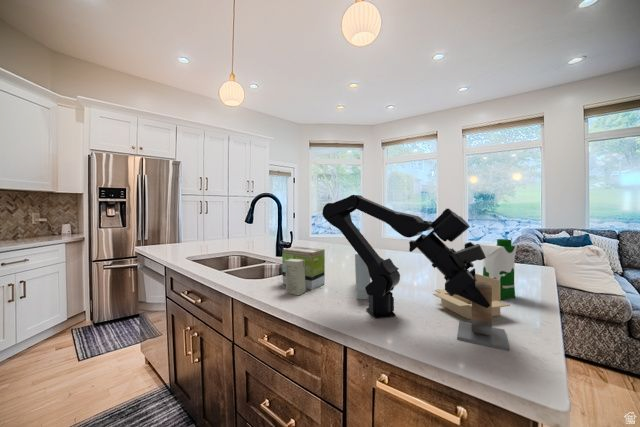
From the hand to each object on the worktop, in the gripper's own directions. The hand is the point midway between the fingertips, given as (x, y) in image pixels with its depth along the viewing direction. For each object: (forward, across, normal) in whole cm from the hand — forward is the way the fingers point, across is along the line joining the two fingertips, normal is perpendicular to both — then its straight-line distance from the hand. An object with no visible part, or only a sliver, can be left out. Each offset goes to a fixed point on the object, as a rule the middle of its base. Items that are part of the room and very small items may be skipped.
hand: (488, 303), depth 63 cm
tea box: (-39, +16, +51) cm, 66 cm away
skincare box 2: (-22, +20, +34) cm, 45 cm away
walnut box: (+4, 0, +6) cm, 7 cm away
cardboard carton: (+2, +16, +9) cm, 19 cm away
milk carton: (+9, +37, +3) cm, 38 cm away
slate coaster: (+5, 0, +7) cm, 8 cm away
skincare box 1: (-36, +5, +48) cm, 61 cm away
